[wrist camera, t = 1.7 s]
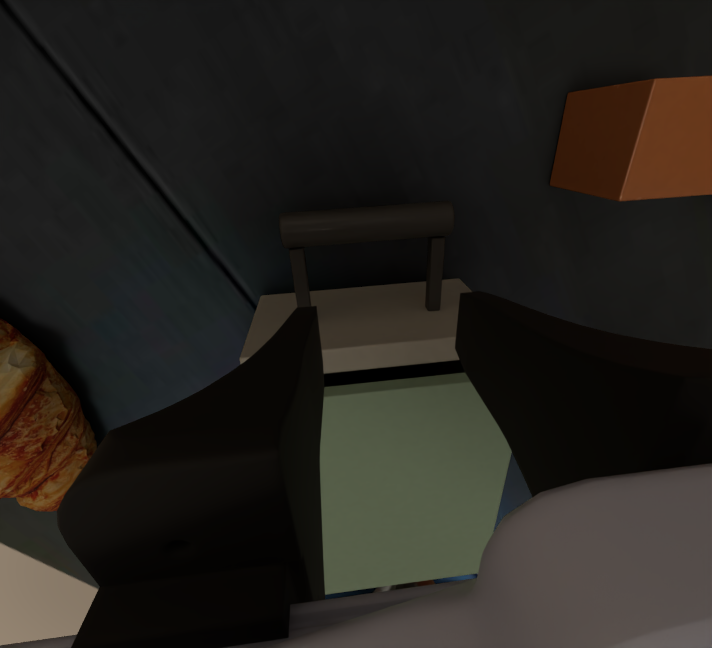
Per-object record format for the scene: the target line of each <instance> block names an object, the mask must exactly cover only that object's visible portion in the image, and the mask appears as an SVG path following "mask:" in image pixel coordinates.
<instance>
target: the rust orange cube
mask: <svg viewBox="0 0 712 648" xmlns="http://www.w3.org/2000/svg"><path fill="white" fill-rule="evenodd" d="M550 186H553V187H558V188H562V189H567V190H571V191H575V192H580V193H584V194H589V195H593V196H597V197H602V198H606V199H611V200H615V201H631V200H644V199H658V198H671V197H684V196H698V195H711V194H712V76H696V77H677V78H658V79H650V80H644V81H637V82H631V83H625V84H619V85H612V86H606V87H600V88H593V89H587V90H581V91H575V92H569V93H568V95H567V100H566V105H565V110H564V115H563V120H562V125H561V130H560V135H559V140H558V145H557V150H556V155H555V160H554V165H553V170H552V175H551V180H550Z"/></svg>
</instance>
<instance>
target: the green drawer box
mask: <svg viewBox="0 0 712 648" xmlns="http://www.w3.org/2000/svg"><path fill="white" fill-rule="evenodd" d="M511 453H512V451H511V449H510V447H509V445H508V443H507V440H506V439H505V437H504V435H503V433H502V431H501V430H500V428H499V426H498V425H497V423H496V421H495V420H494V418H493V417H492V415H491V413H490V412H489V410H488V409H487V407H486V405H485V404H484V402H483V401H482V399H481V398H480V396H479V394H478V393H477V391H476V390H475V388H474V386H473V385H472V383H471V381H470V380H469V378H468V376H467V375H466V373H455V374H446V375H436V376H426V377H417V378H407V379H397V380H388V381H378V382H369V383H359V384H349V385H340V386H330V387H324V400H323V415H322V428H321V442H320V483H321V512H322V537H323V561H324V583H325V595H326V594H333V593H340V592H347V591H354V590H361V589H369V588H376V587H383V586H390V585H397V584H404V583H411V582H419V581H426V580H433V579H440V578H447V577H454V576H461V575H468V574H476V573H478V571H479V567H480V562H481V557H482V553H483V551H484V549H485V547H486V545H487V542H488V541H489V539H490V538H491V536H492V535H493V531H494V526H495V522H496V518H497V513H498V509H499V505H500V500H501V496H502V492H503V487H504V483H505V479H506V474H507V470H508V466H509V461H510V457H511Z"/></svg>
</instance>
